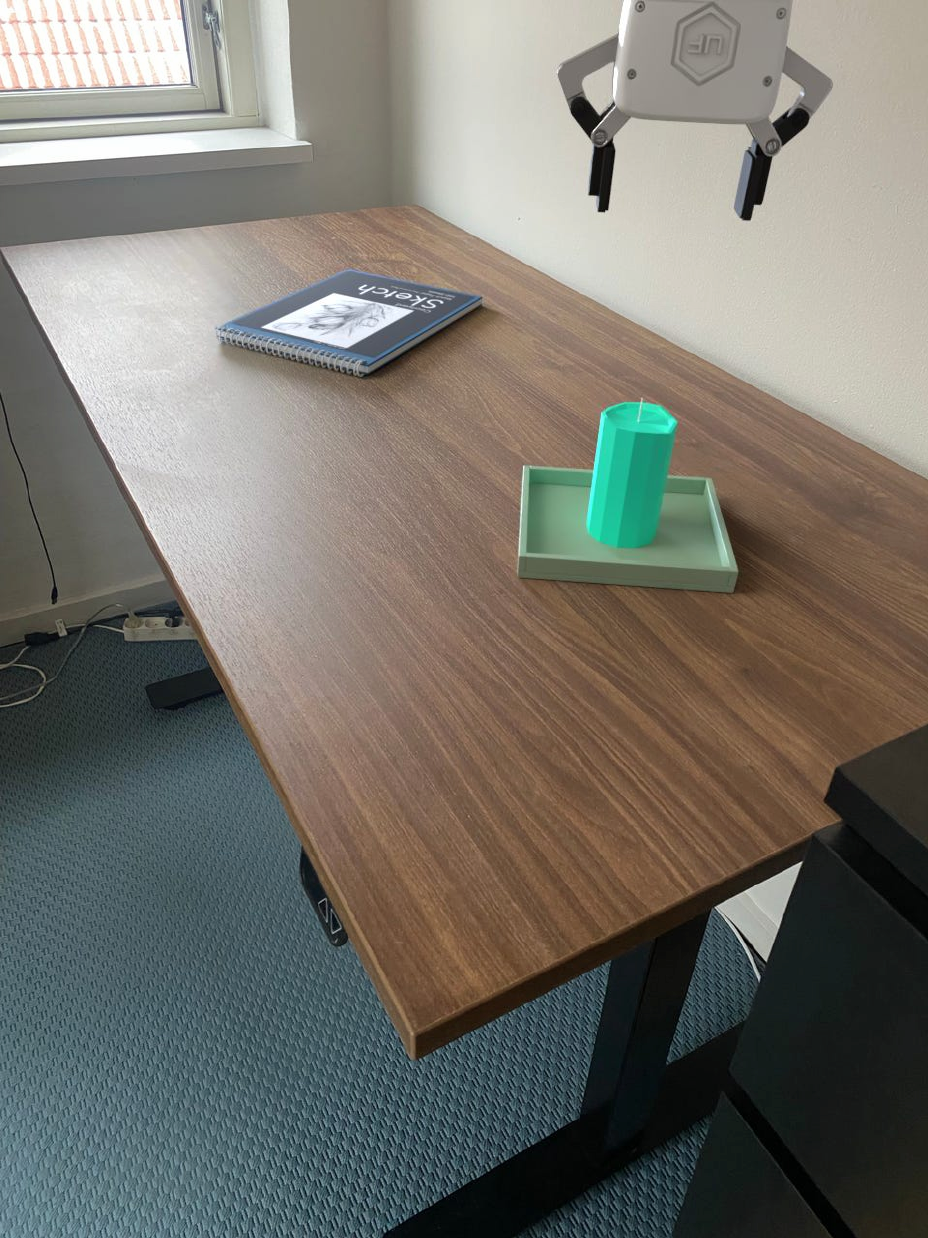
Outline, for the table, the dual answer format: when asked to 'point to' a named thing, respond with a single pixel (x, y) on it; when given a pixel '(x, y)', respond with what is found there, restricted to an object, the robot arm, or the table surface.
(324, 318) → the sketchbook
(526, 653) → the table surface
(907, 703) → the table surface
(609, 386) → the table surface
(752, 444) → the table surface
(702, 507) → the tray
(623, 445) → the candle
